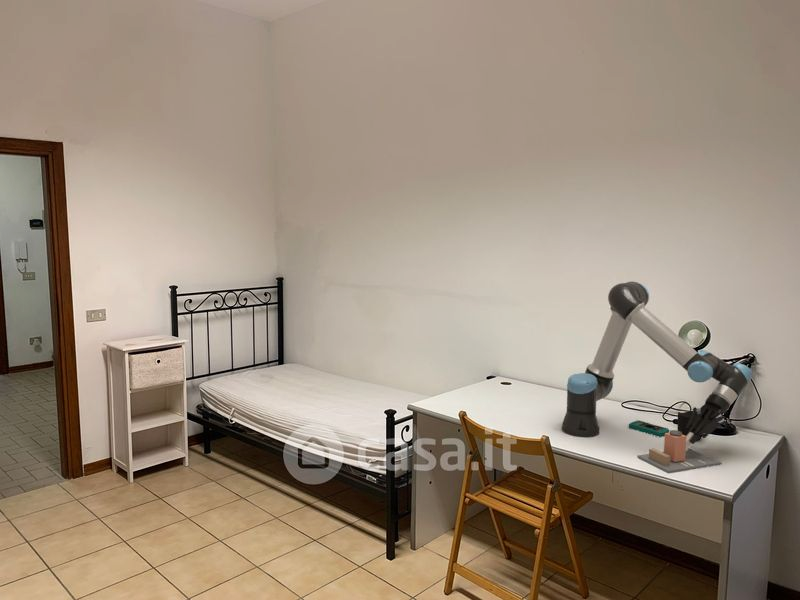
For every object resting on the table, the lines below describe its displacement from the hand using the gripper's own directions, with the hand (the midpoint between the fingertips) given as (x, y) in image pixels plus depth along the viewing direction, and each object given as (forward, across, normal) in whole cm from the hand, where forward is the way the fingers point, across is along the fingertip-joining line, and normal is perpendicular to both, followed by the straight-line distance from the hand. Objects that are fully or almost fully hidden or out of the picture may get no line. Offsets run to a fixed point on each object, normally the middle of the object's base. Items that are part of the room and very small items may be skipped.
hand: (682, 448), depth 211 cm
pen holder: (-12, +18, -19) cm, 28 cm away
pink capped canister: (+5, 0, 0) cm, 5 cm away
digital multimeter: (-5, +30, -12) cm, 33 cm away
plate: (+4, 0, -2) cm, 5 cm away
